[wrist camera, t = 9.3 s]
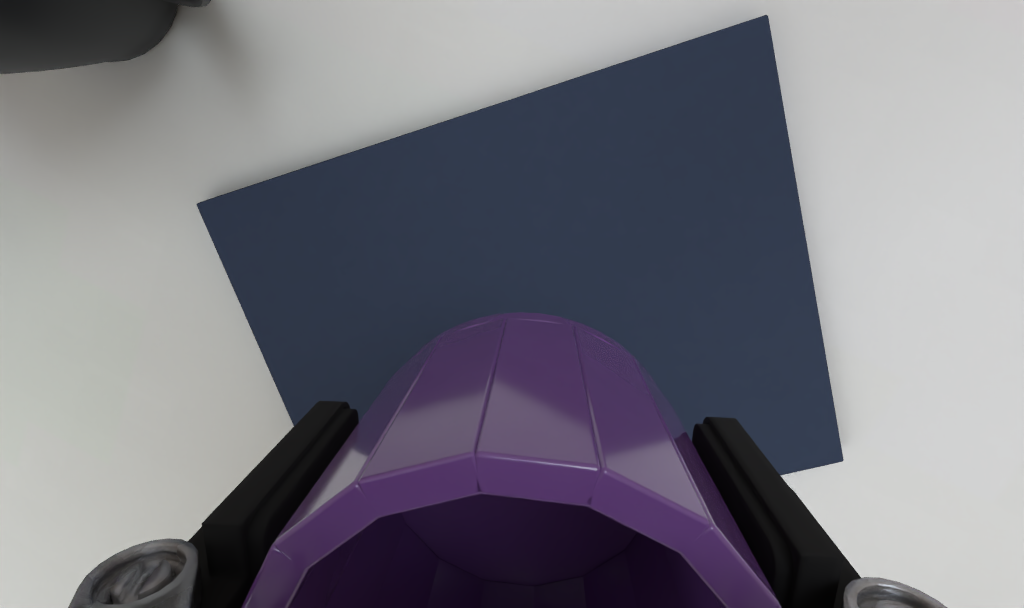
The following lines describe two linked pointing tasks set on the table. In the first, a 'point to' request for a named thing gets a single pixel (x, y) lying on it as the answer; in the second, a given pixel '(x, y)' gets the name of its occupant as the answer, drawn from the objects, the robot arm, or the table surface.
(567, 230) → the placemat
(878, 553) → the table surface
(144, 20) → the mug
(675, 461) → the ramekin
